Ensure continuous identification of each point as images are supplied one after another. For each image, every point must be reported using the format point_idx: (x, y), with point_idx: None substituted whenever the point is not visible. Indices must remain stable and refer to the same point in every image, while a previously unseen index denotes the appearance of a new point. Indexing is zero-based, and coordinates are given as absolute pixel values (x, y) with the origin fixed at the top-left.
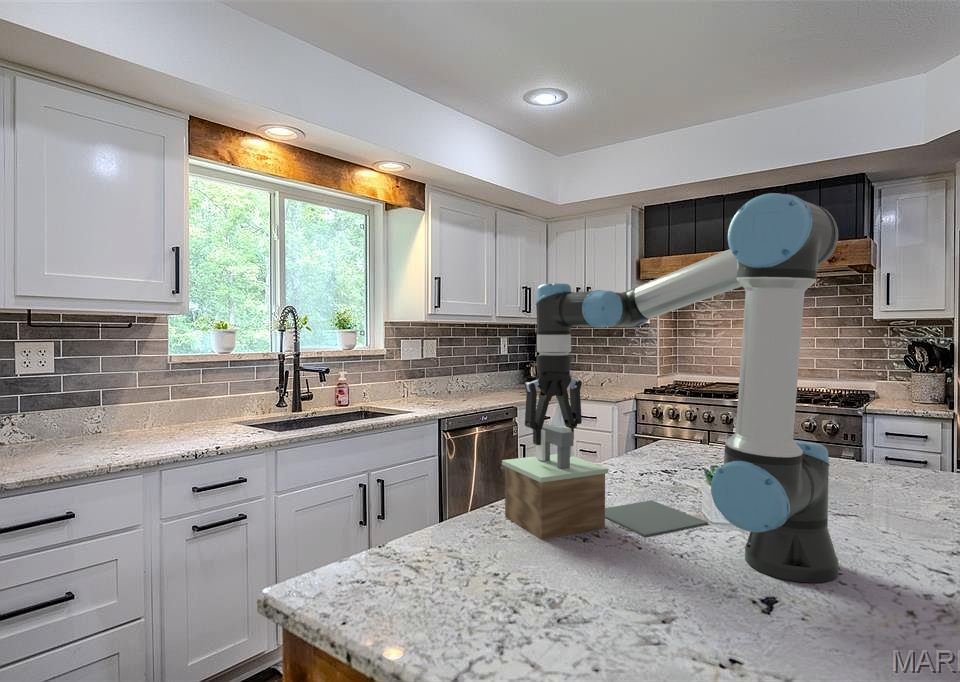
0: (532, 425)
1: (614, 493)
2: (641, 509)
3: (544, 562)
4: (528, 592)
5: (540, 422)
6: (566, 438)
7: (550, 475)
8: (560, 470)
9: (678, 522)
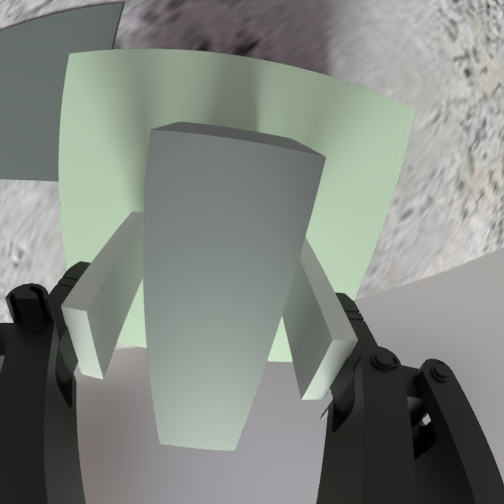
0: (446, 371)
1: (10, 253)
2: (16, 138)
3: (395, 35)
4: (462, 10)
5: (394, 397)
6: (252, 135)
7: (368, 101)
8: (271, 131)
9: (21, 43)
